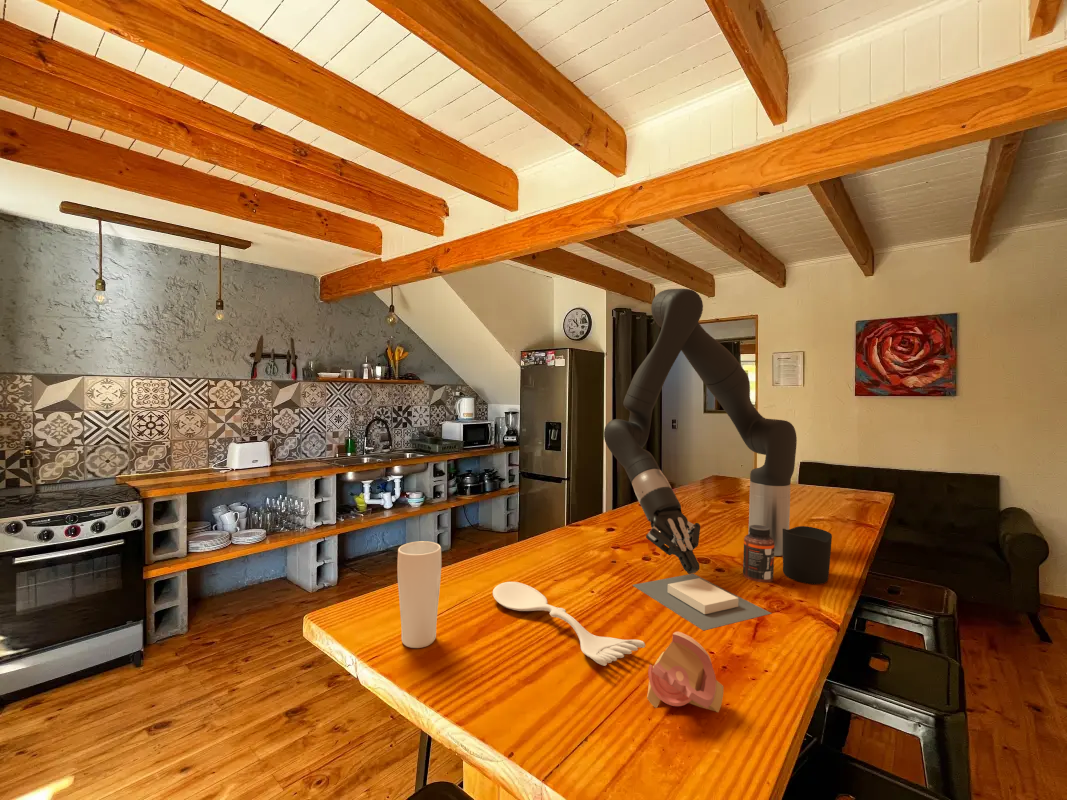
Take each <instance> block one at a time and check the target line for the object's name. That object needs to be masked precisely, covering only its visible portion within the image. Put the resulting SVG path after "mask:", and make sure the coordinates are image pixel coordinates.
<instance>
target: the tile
mask: <svg viewBox="0 0 1067 800" xmlns="http://www.w3.org/2000/svg"><path fill="white" fill-rule="evenodd" d="M667 592H668V593H670V594H671V595H673V596H675V597H676V598H678V599H680V600H681V601H683V602H685V603H686V604H688V605H690V606H691V607H693V608H695V609H696V610H698V611H700V612H702V613H703V614H709V613H713V612H717V611H722V610H726V609H730V608H734V607H738V598H737V597H735V596H733V595H731V594H729V593H727V592H726V591H724V590H722V589H720V588H718V587H716V586H714V585H712V584H710V583H708V582H706V581H704V580H702V579H700V578H697V579H692V580H687V581H682V582H677V583H671V584H668V591H667Z"/></svg>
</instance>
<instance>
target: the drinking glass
mask: <svg viewBox="0 0 1067 800" xmlns="http://www.w3.org/2000/svg"><path fill="white" fill-rule="evenodd" d="M396 561H397V564H396V565H397V567H396V569H397V589H398V598H399V611H400V612H399V613H400V624H401V625H400V626H401V642H402V644H403V646H405V647H408V648H411V649H420V648H421V649H422V648H425V647H428V646H430V645H431V644H433V643H434V641H435V640H436V637H437V622H438V621H437V620H438V611H439V610H438V608H439V598H440V588H441V577H442V547H441V545H440V544H439V543H437V542H434V541H427V540H424V541H423V540H420V541H411V542H407V543H404V544H402V545H401V546H399V547H398V549H397V560H396Z"/></svg>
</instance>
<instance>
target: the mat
mask: <svg viewBox="0 0 1067 800" xmlns="http://www.w3.org/2000/svg"><path fill="white" fill-rule="evenodd" d="M697 578H700V579H702V580H704V581H706V582H708V583H710V584H712V585H714V586H716V587H718V588H720V589H722V590H724V591H726V592H727V593H729V594H731V595H733V596H735V597H737V598H738V607H734V608H730V609H726V610H722V611H717V612H713V613H709V614H703V613H702V612H700V611H698V610H696V609H695V608H693V607H691V606H690V605H688V604H686V603H685V602H683V601H681V600H680V599H678V598H676V597H675V596H673V595H671V594H670V593H668V592H667V591H668V584H671V583H677V582H682V581H687V580H692V579H697ZM632 586H633V587H635V588H636V589H637V590H639V591H640V592H642V593H643V594H645V595H647V596H648V597H650V598H651V599H652V600H654V601H657V602H658V603H659V604H661V605H662V606H664V607H666V608H667V609H669V610H670V611H672V612H674V613H675V614H676V615H678V616H679V617H681V618H683V619H684V620H686V621H688V622H690V623H691V624H693V625H694V626H695V627H697V628H698V629H700V630H702V631H707V630H712V629H716V628H718V627H719V628H720V627H724V626H727V625H732V624H735V623H740V622H744V621H747V620H752V619H757V618H761V617H763V616H768V615H772V612H770V611H768V610H766V609H764V608H762V607H761V606H758V605H757V604H755V603H753V602H750V601H749V600H747V599H744V598H742V597H740V596H739V595H737V594H735V593H732V592H730V591H728V590H726V589H725V588H722V587H721V586H718V585H717V584H714V583H713V582H712V581H711V582H710V581H709V580H707V579H705V578H703V577H701V576H699V575H697V574H696V573H692V574H688V573H687V574H683V575H678V576H673V577H668V578H663V579H656V580H651V581H646V582H640V583H635V584H632Z"/></svg>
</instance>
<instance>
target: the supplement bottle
mask: <svg viewBox="0 0 1067 800" xmlns="http://www.w3.org/2000/svg"><path fill="white" fill-rule="evenodd" d="M749 532H750V534H746V535H745V536H744V538H743V557H742V560H743V562H742V563H743V564H742V566H743V567H742V575H743V576H744V578H746V579H748V580H749V581H750V580H751V581H754V582H758V583H773V581H774V575H775V574H774V570H775V569H774V566H775V565H774V563H775V556H774V540H773V539H772V538H771V537H770V528H768V527H766V526H762V525H751V526H749V525H748V533H749Z"/></svg>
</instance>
